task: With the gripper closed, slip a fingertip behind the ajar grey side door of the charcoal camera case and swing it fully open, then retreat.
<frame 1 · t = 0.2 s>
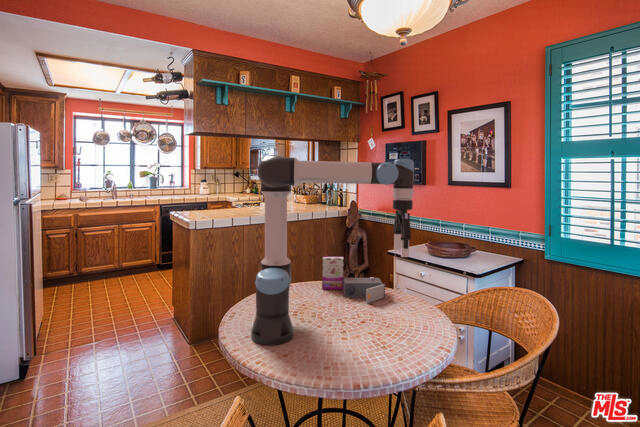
hand: (400, 253, 141), 28 cm above the table, fingers open, 13 cm apart
case: (362, 294, 176), on the table
door: (376, 293, 167), point 3 cm above the table, hinge at 40.0°
candy bar box: (332, 288, 185), on the table
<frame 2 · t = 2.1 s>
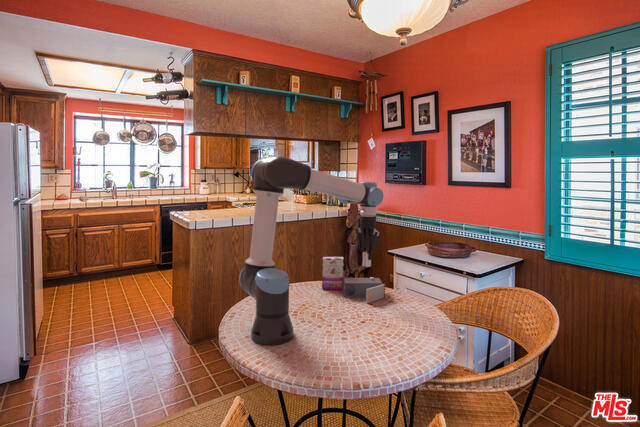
hand: (366, 265, 166), 16 cm above the table, fingers closed
nothing on the table moved.
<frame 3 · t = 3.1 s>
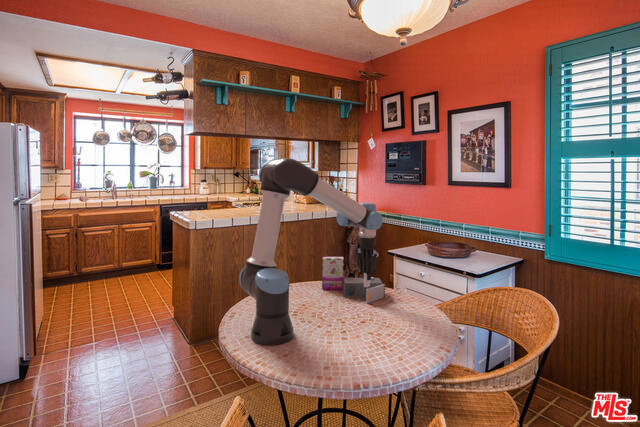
hand: (366, 286, 167), 7 cm above the table, fingers closed
nothing on the table moved.
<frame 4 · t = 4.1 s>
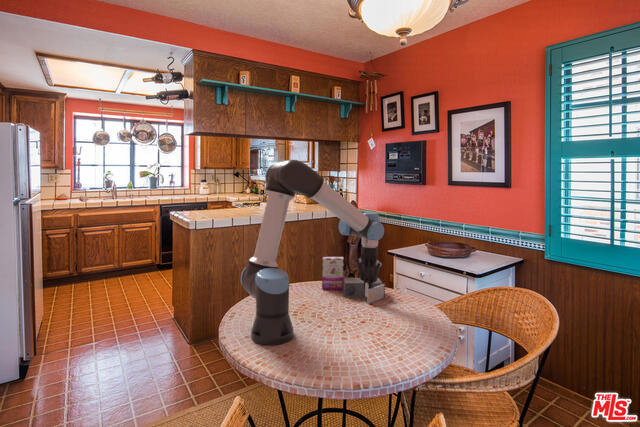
hand: (367, 296, 166), 2 cm above the table, fingers closed
door: (377, 293, 167), point 3 cm above the table, hinge at 43.6°, touching gripper
everything else where it was.
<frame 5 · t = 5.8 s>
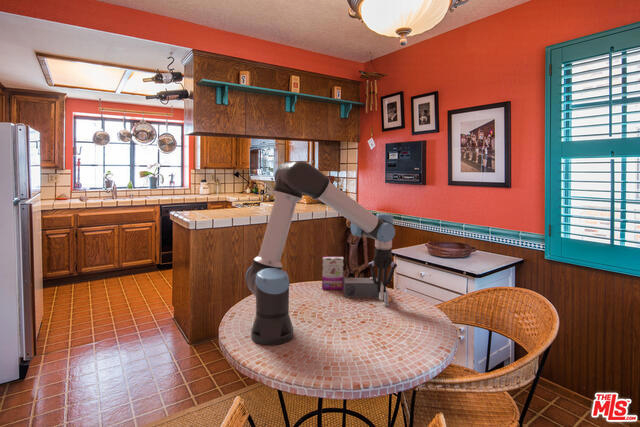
hand: (381, 299, 162), 2 cm above the table, fingers closed
door: (386, 294, 165), point 4 cm above the table, hinge at 86.7°, touching gripper
everything else where it was.
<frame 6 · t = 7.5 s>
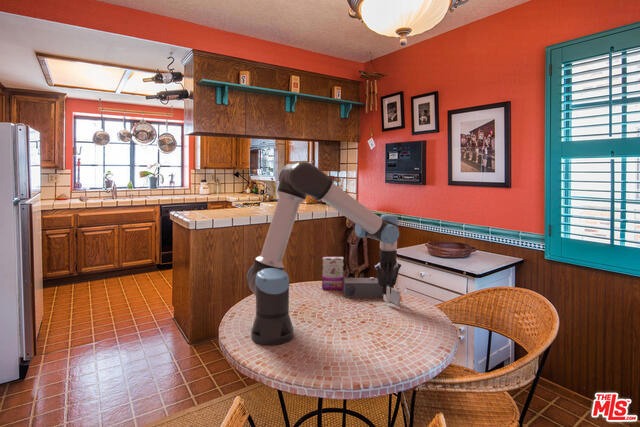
hand: (386, 300, 161), 2 cm above the table, fingers closed
door: (391, 294, 166), point 3 cm above the table, hinge at 112.8°
everything else where it was.
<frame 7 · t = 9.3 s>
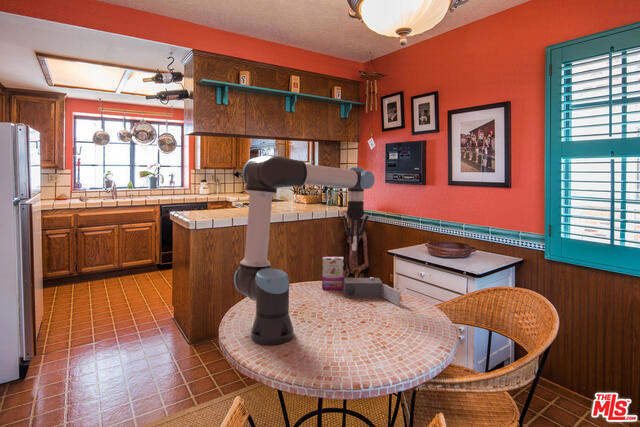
hand: (354, 250, 170), 23 cm above the table, fingers closed
nothing on the table moved.
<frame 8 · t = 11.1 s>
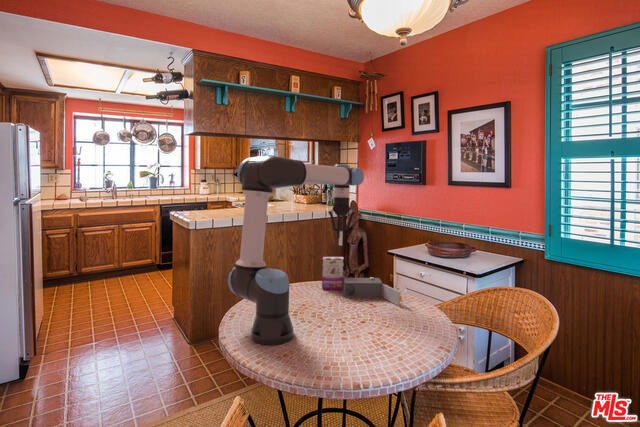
hand: (340, 244, 175), 24 cm above the table, fingers closed
nothing on the table moved.
at the end: door at +113° (first picture: +40°) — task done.
